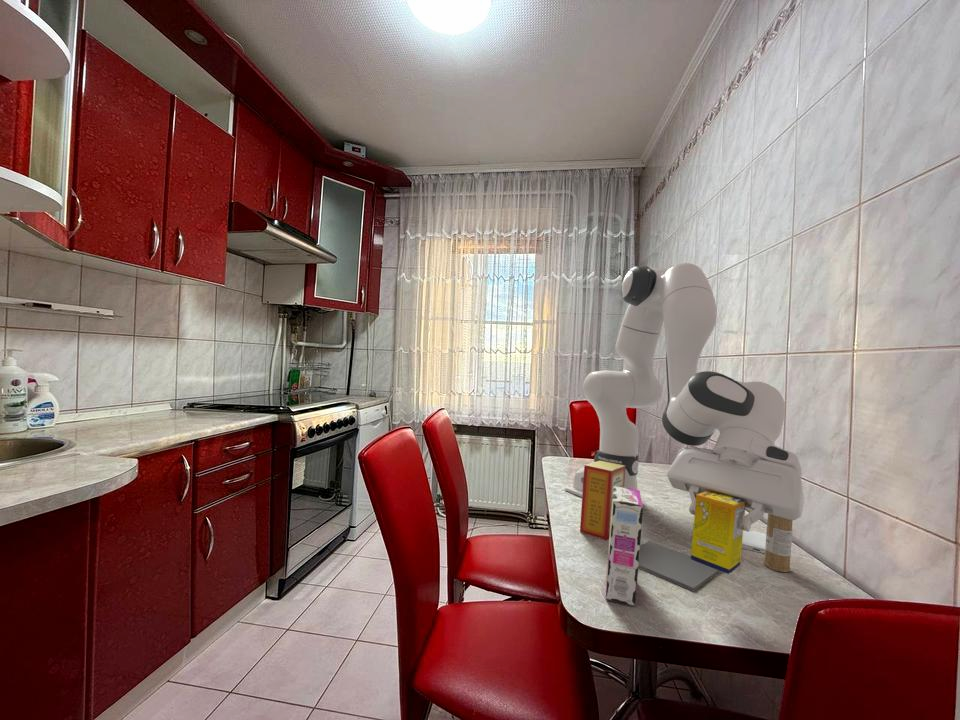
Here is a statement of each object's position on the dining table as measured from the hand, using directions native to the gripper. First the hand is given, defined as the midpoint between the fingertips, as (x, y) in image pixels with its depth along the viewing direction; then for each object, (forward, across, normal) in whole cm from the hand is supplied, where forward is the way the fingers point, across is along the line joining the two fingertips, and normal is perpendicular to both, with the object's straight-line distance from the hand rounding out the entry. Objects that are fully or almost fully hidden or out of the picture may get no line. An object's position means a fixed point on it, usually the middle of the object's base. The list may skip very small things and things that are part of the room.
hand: (717, 520), depth 69 cm
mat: (+3, -11, +18) cm, 21 cm away
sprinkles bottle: (-10, +3, +31) cm, 33 cm away
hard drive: (-18, -4, +40) cm, 45 cm away
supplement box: (+5, 0, +5) cm, 7 cm away
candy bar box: (+15, -12, +6) cm, 20 cm away
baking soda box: (+1, -29, +21) cm, 36 cm away
